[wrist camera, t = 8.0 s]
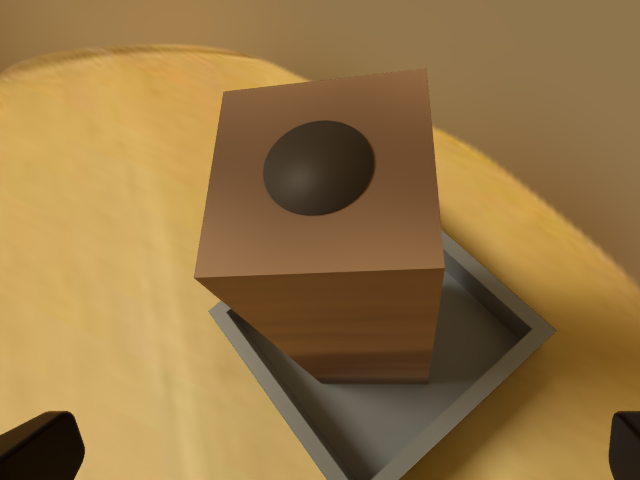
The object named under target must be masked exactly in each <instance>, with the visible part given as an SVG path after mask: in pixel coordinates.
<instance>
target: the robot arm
mask: <svg viewBox="0 0 640 480" xmlns="http://www.w3.org/2000/svg"><path fill="white" fill-rule="evenodd" d="M84 455H85V447H84V443H83V440H82V437H81V434H80V432H79V429H78V426H77V423H76V420H75V417H74V415H73V414H72V413H71V412H68V411H48V412H45V413H43V414H41V415H39V416H37V417H35V418H33V419H31V420H29V421H27V422H25V423H23V424H21V425H19V426H17V427H16V428H14V429H12V430H10V431H8V432H6V433H4V434H2V435H0V480H74V479H75V476H76V474H77V472H78V470H79V468H80V466H81V464H82V462H83V459H84ZM609 464H610V469H611V472H612V475H613V478H614V480H640V411H618V412H616V413H615V414H614V416H613V418H612V426H611V436H610V446H609Z"/></svg>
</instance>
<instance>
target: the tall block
mask: <svg viewBox="0 0 640 480" xmlns="http://www.w3.org/2000/svg"><path fill="white" fill-rule="evenodd" d="M444 270H445V264H444V253H443V242H442V231H441V220H440V209H439V198H438V187H437V176H436V165H435V154H434V143H433V132H432V122H431V110H430V99H429V88H428V77H427V69H426V68H425V69H416V70H407V71H399V72H390V73H382V74H373V75H364V76H355V77H347V78H338V79H329V80H321V81H312V82H303V83H295V84H286V85H277V86H268V87H260V88H251V89H242V90H234V91H225V92H223V98H222V105H221V111H220V117H219V123H218V130H217V136H216V142H215V149H214V155H213V161H212V167H211V174H210V180H209V186H208V192H207V199H206V205H205V211H204V218H203V224H202V230H201V236H200V243H199V249H198V255H197V262H196V268H195V274H194V278H195V279H196V280H197V281H198V282H200V283H201V284H202V285H203V286H204V287H206V288H207V289H208V290H209V291H210V292H212V293H213V294H214V295H215V296H216V297H218V298H219V299H220V300H221V301H223V302H224V303H225V304H226V305H227V306H229V307H230V308H231V309H232V310H233V311H235V312H236V313H237V314H238V315H239V316H241V317H242V318H243V319H244V320H245V321H247V322H248V323H249V324H250V325H251V326H253V327H254V328H255V329H256V330H257V331H259V332H260V333H261V334H262V335H263V336H265V337H266V338H267V339H268V340H269V341H271V342H272V343H273V344H274V345H275V346H277V347H278V348H279V349H280V350H281V351H283V352H284V353H285V354H286V355H287V356H289V357H290V358H291V359H292V360H293V361H295V362H296V363H297V364H298V365H299V366H301V367H302V368H303V369H304V370H305V371H307V372H308V373H309V374H310V375H312V376H313V377H314V378H315V379H316V380H318V381H319V382H320V383H321V384H428V378H429V371H430V365H431V358H432V351H433V344H434V338H435V331H436V324H437V318H438V311H439V304H440V297H441V291H442V284H443V277H444Z"/></svg>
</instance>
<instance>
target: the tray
mask: <svg viewBox="0 0 640 480" xmlns="http://www.w3.org/2000/svg"><path fill="white" fill-rule="evenodd" d="M441 231H442V242H443V253H444V264H445V270H444V277H443V284H442V291H441V297H440V304H439V311H438V318H437V324H436V331H435V338H434V344H433V351H432V358H431V365H430V371H429V378H428V384H321V383H320V382H319V381H318V380H316V379H315V378H314V377H313V376H312V375H310V374H309V373H308V372H307V371H305V370H304V369H303V368H302V367H301V366H299V365H298V364H297V363H296V362H295V361H293V360H292V359H291V358H290V357H289V356H287V355H286V354H285V353H284V352H283V351H281V350H280V349H279V348H278V347H277V346H275V345H274V344H273V343H272V342H271V341H269V340H268V339H267V338H266V337H265V336H263V335H262V334H261V333H260V332H259V331H257V330H256V329H255V328H254V327H253V326H251V325H250V324H249V323H248V322H247V321H245V320H244V319H243V318H242V317H241V316H239V315H238V314H237V313H236V312H235V311H233V310H232V309H231V308H230V307H229V306H227V305H226V304H225V303H224V302H223V301H220V302H219V303H218V304H217V305H215V306H214V307H213V308H212V309H210V310H209V311H208V312H209V313H210V314H211V316H212V317H213V319H214V320H215V322H216V323H217V324H218V326H219V327H220V329H221V330H222V331H223V333H224V334H225V336H226V337H227V339H228V340H229V341H230V343H231V344H232V346H233V347H234V348H235V350H236V351H237V353H238V354H239V356H240V357H241V358H242V360H243V361H244V363H245V364H246V366H247V367H248V368H249V370H250V371H251V373H252V374H253V375H254V377H255V378H256V380H257V381H258V383H259V384H260V385H261V387H262V388H263V390H264V391H265V392H266V394H267V395H268V397H269V398H270V400H271V401H272V402H273V404H274V405H275V407H276V408H277V410H278V411H279V412H280V414H281V415H282V417H283V418H284V419H285V421H286V422H287V424H288V425H289V427H290V428H291V429H292V431H293V432H294V434H295V435H296V436H297V438H298V439H299V441H300V442H301V444H302V445H303V446H304V448H305V449H306V451H307V452H308V453H309V455H310V456H311V458H312V459H313V461H314V462H315V463H316V465H317V466H318V468H319V469H320V471H321V472H322V473H323V475H324V476H325V478H326V479H327V480H399V479H400V478H401V477H402V476H403V475H404V474H405V473H406V472H407V471H408V470H409V469H411V468H412V467H413V466H414V465H415V464H416V463H417V462H418V461H419V460H420V459H421V458H422V457H423V456H424V455H425V454H426V453H427V452H429V451H430V450H431V449H432V448H433V447H434V446H435V445H436V444H437V443H438V442H439V441H440V440H441V439H442V438H443V437H444V436H446V435H447V434H448V433H449V432H450V431H451V430H452V429H453V428H454V427H455V426H456V425H457V424H458V423H459V422H460V421H461V420H462V419H464V418H465V417H466V416H467V415H468V414H469V413H470V412H471V411H472V410H473V409H474V408H475V407H476V406H477V405H478V404H479V403H480V402H482V401H483V400H484V399H485V398H486V397H487V396H488V395H489V394H490V393H491V392H492V391H493V390H494V389H495V388H496V387H497V386H498V385H500V384H501V383H502V382H503V381H504V380H505V379H506V378H507V377H508V376H509V375H510V374H511V373H512V372H513V371H514V370H515V369H517V368H518V367H519V366H520V365H521V364H522V363H523V362H524V361H525V360H526V359H527V358H528V357H529V356H530V355H531V354H532V353H533V352H535V351H536V350H537V349H538V348H539V347H540V346H541V345H542V344H543V343H544V342H545V341H546V340H547V339H548V338H549V337H550V336H551V335H553V334H554V333H555V332H556V331H557V330H556V329H554V328H553V327H552V326H551V325H550V324H549V323H548V322H546V321H545V320H544V319H543V318H542V317H541V316H540V315H538V314H537V313H536V312H535V311H534V310H533V309H532V308H530V307H529V306H528V305H527V304H526V303H525V302H524V301H523V300H521V299H520V298H519V297H518V296H517V295H516V294H515V293H513V292H512V291H511V290H510V289H509V288H508V287H507V286H505V285H504V284H503V283H502V282H501V281H500V280H499V279H497V278H496V277H495V276H494V275H493V274H492V273H491V272H489V271H488V270H487V269H486V268H485V267H484V266H483V265H481V264H480V263H479V262H478V261H477V260H476V259H475V258H473V257H472V256H471V255H470V254H469V253H468V252H467V251H465V250H464V249H463V248H462V247H461V246H460V245H459V244H458V243H456V242H455V241H454V240H453V239H452V238H451V237H450V236H448V235H447V234H446V233H445V232H444V231H443V230H442V229H441Z"/></svg>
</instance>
